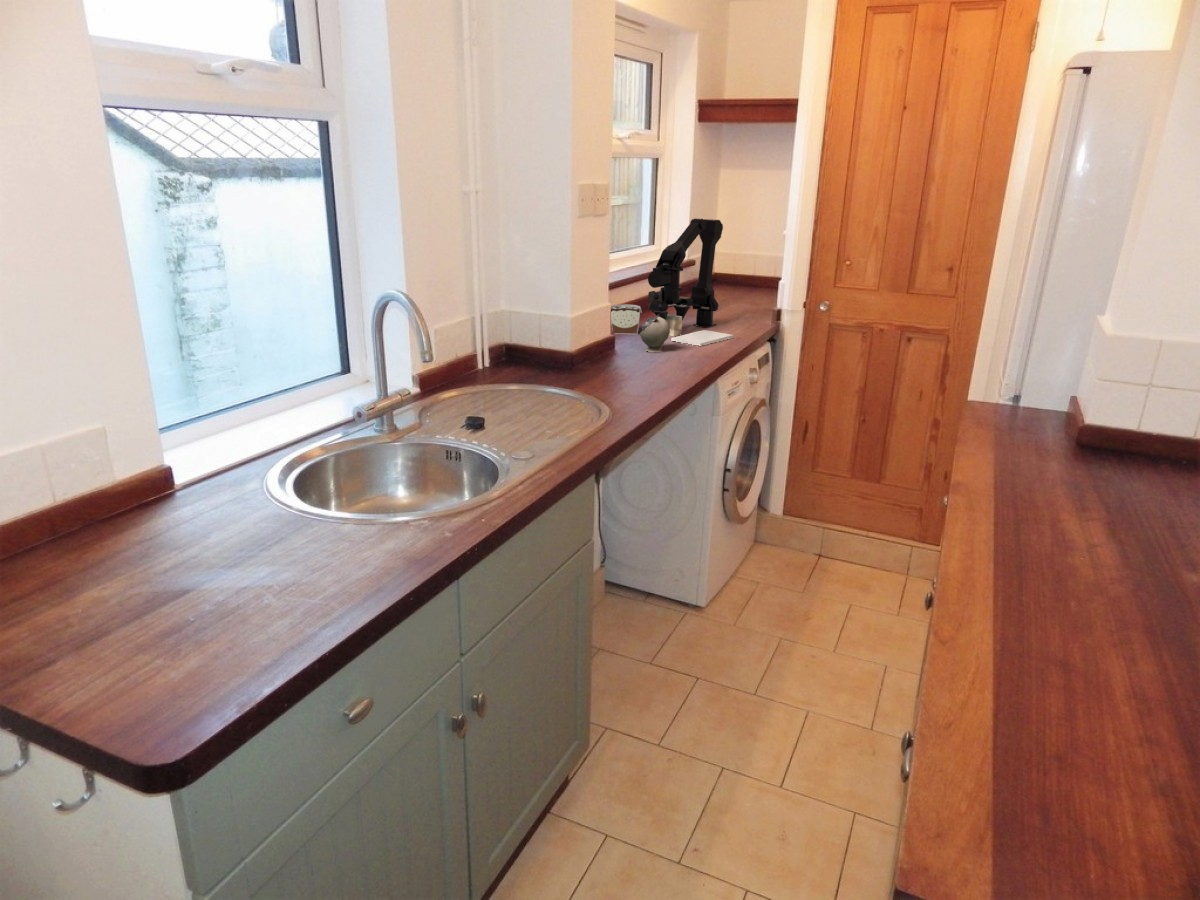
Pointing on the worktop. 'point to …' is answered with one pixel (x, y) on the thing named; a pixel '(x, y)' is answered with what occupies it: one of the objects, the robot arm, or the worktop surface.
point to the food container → (625, 319)
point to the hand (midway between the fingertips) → (670, 327)
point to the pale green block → (674, 324)
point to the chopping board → (702, 337)
